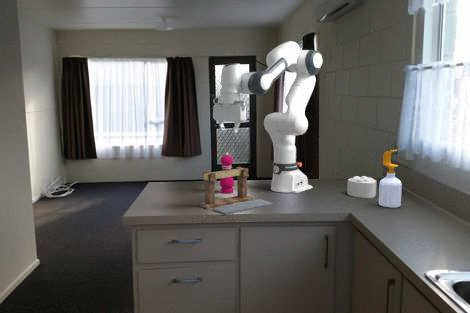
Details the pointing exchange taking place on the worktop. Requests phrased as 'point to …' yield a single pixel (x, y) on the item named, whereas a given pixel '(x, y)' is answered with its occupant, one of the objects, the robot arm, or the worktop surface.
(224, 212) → the slate mat
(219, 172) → the brass rail
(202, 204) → the stand
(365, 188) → the lumpy-topped squat cylinder
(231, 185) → the pepper mill
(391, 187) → the soap bottle
